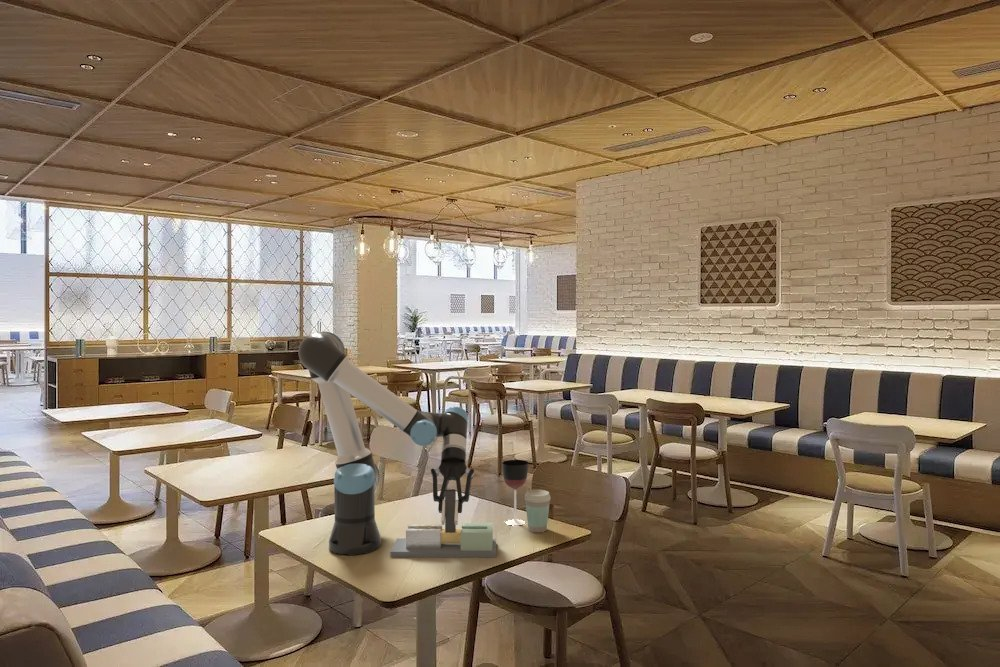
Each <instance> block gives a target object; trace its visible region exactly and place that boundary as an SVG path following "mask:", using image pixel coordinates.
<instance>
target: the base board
mask: <svg viewBox="0 0 1000 667" xmlns="http://www.w3.org/2000/svg"><path fill="white" fill-rule="evenodd" d="M389 557H390V558H497V538H493V546H492V551H461V543H460V544H442V545H441V548H406V537H405V538H396V539H395V541H394V543H393V545H392V547H391V550H390V556H389Z"/></svg>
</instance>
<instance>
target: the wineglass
mask: <svg viewBox="0 0 1000 667" xmlns="http://www.w3.org/2000/svg"><path fill="white" fill-rule="evenodd" d="M501 465H502V466H501V468H502V475H503V481H504V484H505V485H506V486H508V487H509V488H511V489H513V518H512V520H510V519H507V520H508V521H506V520H505V521H506V522H505V521H504V522H505V523H506V524H507V525H506V526H508V525H512V526H511V527H515V526H514V525H522V524H525V520H524V521H523V519H520V518H519V519H520V520H519V519H518V518H517V489H519V488H521V487H523V486H524V485H525V484H526V482H527V477H528V472H529V461H527V460H523V459H509V460H504V461H502V463H501ZM525 525H526V524H525Z"/></svg>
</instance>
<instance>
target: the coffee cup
mask: <svg viewBox="0 0 1000 667" xmlns="http://www.w3.org/2000/svg"><path fill="white" fill-rule="evenodd" d="M523 499H524V502H525V510H526V522H527V527H528V528H527V529H528V531H529V532H530V533H534V532H542V533H544V531H545V532H546V531H547V530H548V521H549V513H550V512H549V510H550V503H551V495H550V492H549V491H548V490H545V489H530V490H527V491H526V492H525V494H524V498H523Z"/></svg>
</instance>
